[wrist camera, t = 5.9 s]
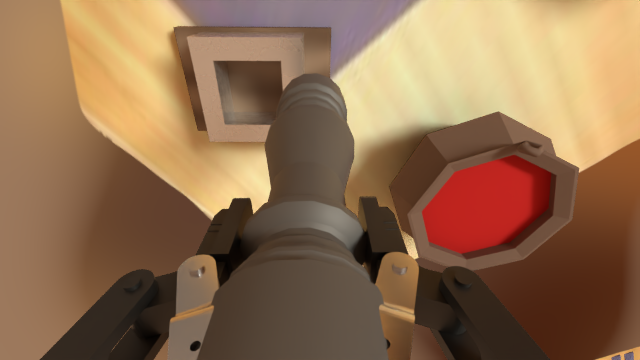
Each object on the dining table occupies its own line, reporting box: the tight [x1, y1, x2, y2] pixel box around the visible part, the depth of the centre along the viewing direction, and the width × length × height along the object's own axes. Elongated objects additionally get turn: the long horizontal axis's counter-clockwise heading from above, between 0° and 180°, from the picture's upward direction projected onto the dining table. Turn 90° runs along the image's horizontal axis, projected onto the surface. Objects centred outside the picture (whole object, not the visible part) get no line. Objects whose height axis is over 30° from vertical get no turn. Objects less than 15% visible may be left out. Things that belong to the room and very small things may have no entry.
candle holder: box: [195, 73, 390, 360], centre depth 17 cm, size 6×6×25 cm
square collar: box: [187, 32, 305, 142], centre depth 38 cm, size 13×13×5 cm
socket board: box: [173, 26, 331, 131], centre depth 41 cm, size 14×20×2 cm
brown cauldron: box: [389, 112, 579, 271], centre depth 42 cm, size 24×24×16 cm
